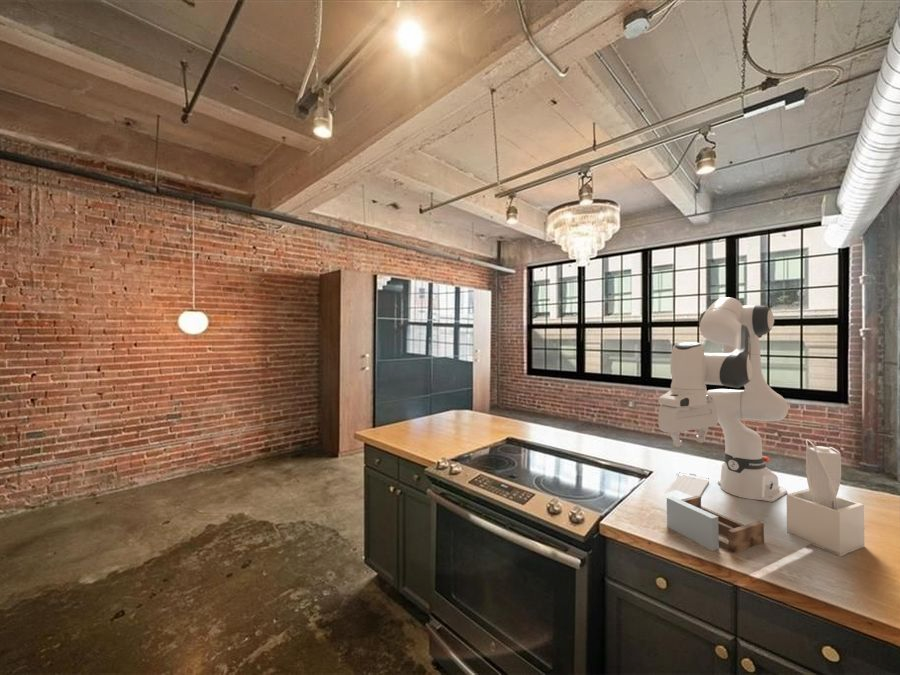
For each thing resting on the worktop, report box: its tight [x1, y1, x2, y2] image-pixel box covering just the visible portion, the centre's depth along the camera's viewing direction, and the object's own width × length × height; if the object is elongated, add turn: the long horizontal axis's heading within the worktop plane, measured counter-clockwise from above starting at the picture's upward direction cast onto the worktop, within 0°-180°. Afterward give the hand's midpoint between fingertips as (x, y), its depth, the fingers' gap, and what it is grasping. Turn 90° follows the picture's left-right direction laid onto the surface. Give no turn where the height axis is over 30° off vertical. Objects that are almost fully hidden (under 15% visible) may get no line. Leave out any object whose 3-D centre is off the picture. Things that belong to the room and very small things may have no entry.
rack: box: [680, 496, 765, 554], centre depth 112 cm, size 13×19×7 cm
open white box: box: [785, 488, 865, 557], centre depth 108 cm, size 12×12×12 cm
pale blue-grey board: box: [666, 496, 720, 552], centre depth 108 cm, size 2×14×10 cm, turn 20°
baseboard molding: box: [664, 471, 710, 497], centre depth 143 cm, size 31×3×12 cm
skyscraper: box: [805, 438, 842, 510], centre depth 108 cm, size 8×8×28 cm
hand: (689, 444), depth 108 cm, fingers open, 8 cm apart
